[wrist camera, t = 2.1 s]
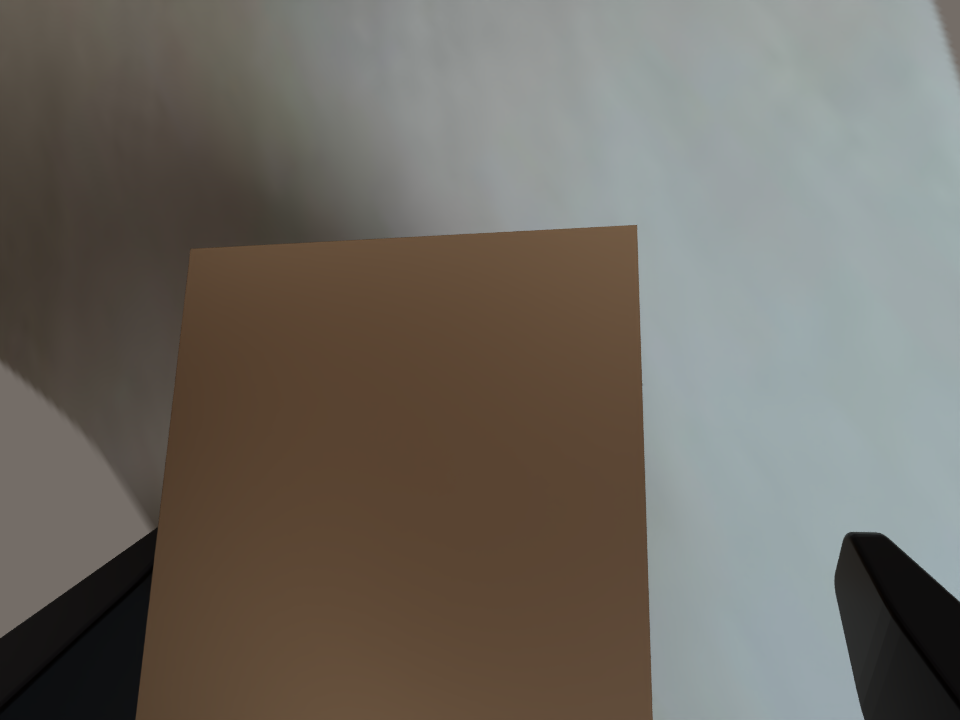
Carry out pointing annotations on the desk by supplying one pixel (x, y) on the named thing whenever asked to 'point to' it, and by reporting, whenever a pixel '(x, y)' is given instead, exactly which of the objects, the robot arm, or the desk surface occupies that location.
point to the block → (405, 484)
